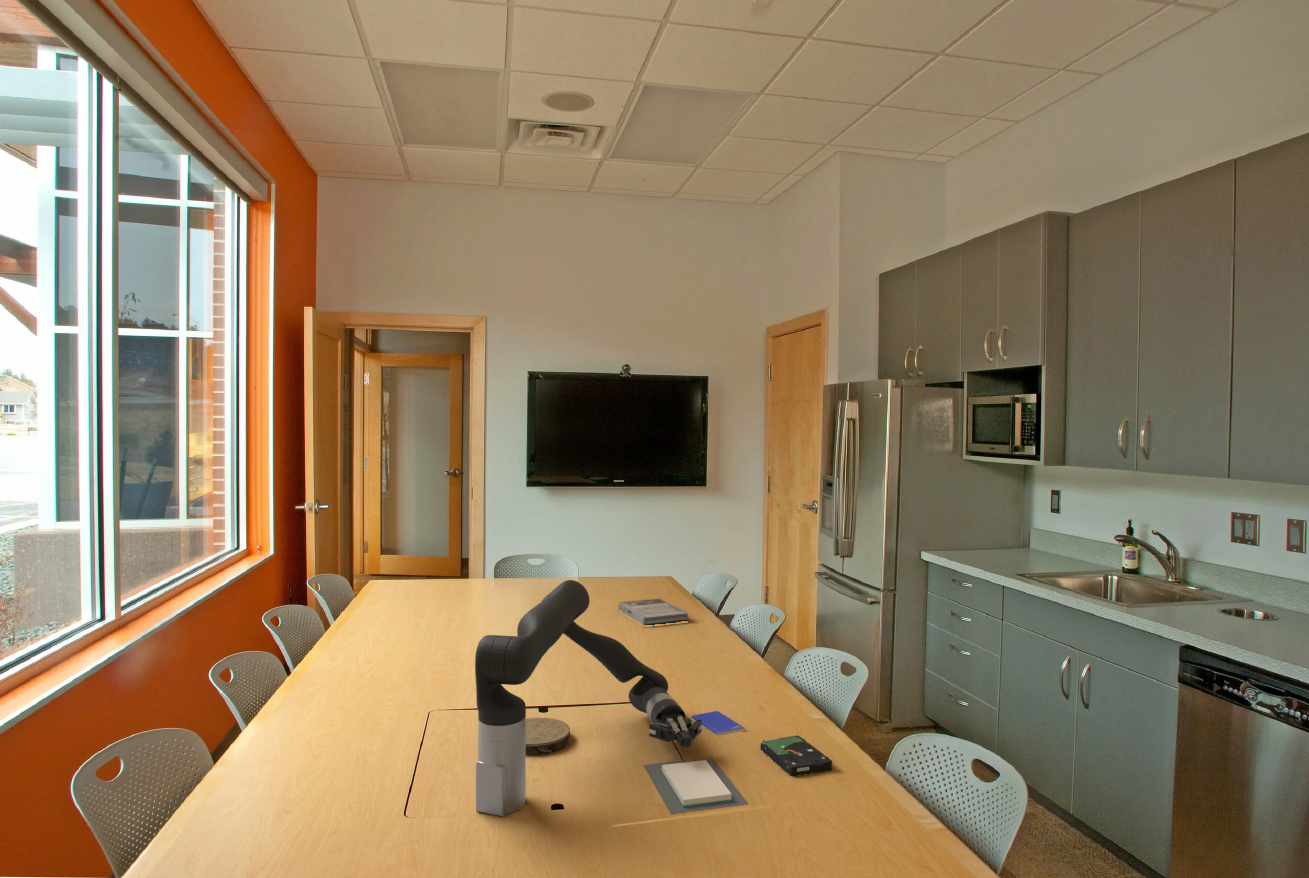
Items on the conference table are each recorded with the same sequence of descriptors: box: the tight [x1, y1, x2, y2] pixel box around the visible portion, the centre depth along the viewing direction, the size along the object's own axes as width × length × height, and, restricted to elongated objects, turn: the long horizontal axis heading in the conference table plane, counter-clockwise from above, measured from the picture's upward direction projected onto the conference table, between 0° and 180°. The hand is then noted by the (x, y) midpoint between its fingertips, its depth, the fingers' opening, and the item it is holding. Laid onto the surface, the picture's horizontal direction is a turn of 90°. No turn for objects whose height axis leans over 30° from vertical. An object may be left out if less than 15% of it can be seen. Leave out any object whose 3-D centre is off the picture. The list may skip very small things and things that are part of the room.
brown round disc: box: [526, 717, 571, 757], centre depth 183 cm, size 16×16×3 cm
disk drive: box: [759, 735, 833, 777], centre depth 174 cm, size 10×3×15 cm
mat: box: [643, 757, 749, 815], centre depth 161 cm, size 22×16×1 cm
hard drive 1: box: [618, 597, 690, 625], centre depth 302 cm, size 18×27×4 cm
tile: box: [662, 760, 732, 807], centre depth 160 cm, size 2×10×16 cm
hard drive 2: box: [690, 710, 746, 736], centre depth 194 cm, size 2×8×12 cm
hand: (687, 743), depth 165 cm, fingers closed
